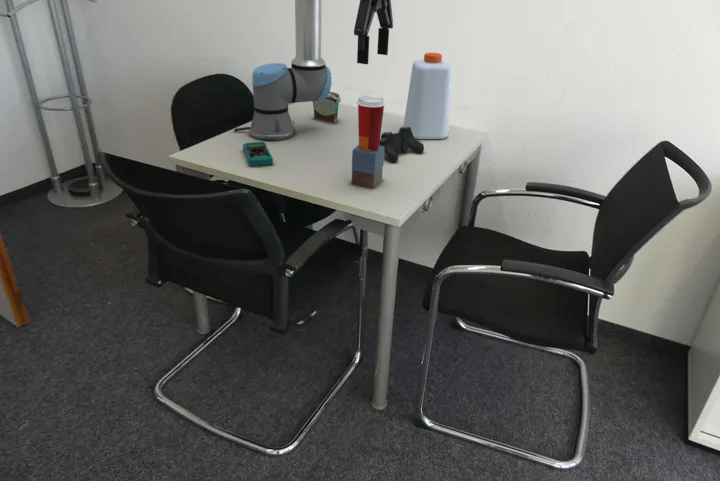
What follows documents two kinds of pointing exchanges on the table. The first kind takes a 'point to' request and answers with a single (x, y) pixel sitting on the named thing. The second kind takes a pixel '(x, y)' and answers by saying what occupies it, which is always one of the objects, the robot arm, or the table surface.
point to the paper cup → (370, 121)
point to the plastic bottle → (429, 98)
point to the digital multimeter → (257, 154)
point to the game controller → (399, 143)
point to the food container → (327, 108)
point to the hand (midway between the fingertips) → (372, 59)
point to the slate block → (367, 160)
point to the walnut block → (366, 178)
